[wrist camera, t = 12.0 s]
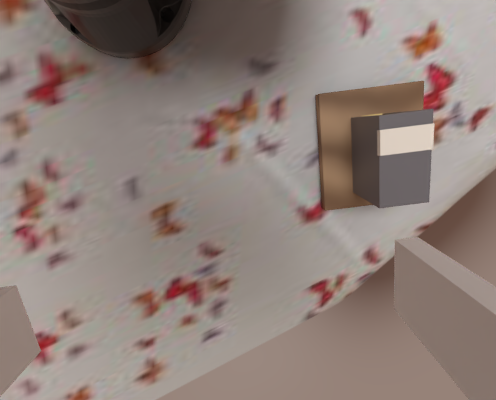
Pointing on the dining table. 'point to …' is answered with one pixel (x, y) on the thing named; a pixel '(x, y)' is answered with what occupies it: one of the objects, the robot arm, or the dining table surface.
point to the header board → (339, 133)
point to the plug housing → (392, 157)
